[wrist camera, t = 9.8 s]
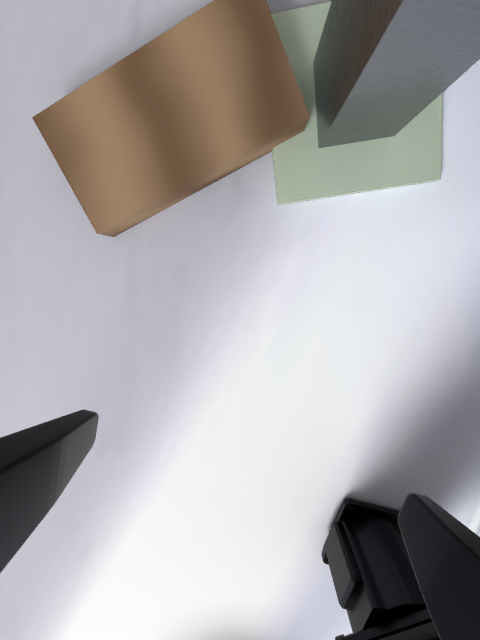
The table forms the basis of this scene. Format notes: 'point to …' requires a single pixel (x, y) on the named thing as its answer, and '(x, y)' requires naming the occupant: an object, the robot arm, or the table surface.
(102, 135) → the brown wooden flat block
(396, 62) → the grey knobbed post
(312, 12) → the felt pad
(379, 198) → the table surface
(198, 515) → the table surface
